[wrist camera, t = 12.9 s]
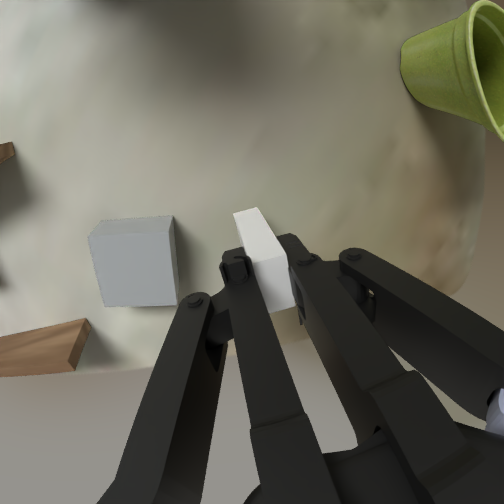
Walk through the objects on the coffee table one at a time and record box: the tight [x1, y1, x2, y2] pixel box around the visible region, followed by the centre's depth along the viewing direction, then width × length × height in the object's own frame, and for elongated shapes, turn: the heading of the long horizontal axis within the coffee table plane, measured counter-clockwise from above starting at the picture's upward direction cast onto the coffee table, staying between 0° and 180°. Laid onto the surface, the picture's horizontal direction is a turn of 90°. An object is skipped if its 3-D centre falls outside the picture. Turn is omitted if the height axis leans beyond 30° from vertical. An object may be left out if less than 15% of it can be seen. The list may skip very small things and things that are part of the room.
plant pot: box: [400, 0, 504, 142], centre depth 12 cm, size 9×9×9 cm
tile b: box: [88, 216, 179, 307], centre depth 18 cm, size 5×5×3 cm
